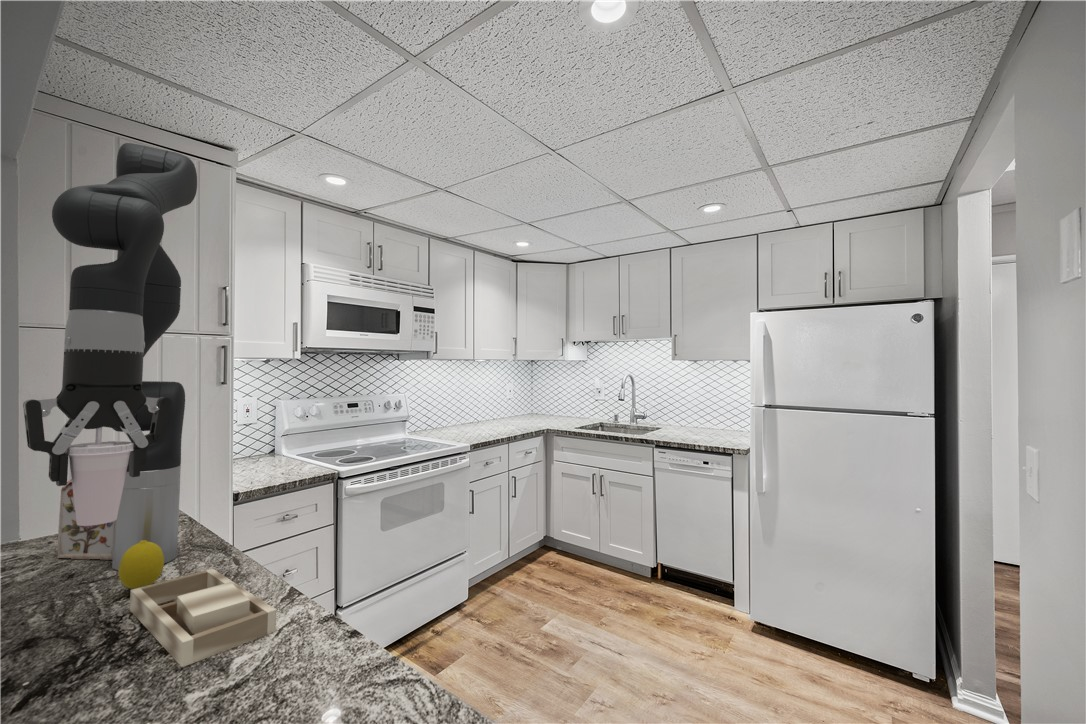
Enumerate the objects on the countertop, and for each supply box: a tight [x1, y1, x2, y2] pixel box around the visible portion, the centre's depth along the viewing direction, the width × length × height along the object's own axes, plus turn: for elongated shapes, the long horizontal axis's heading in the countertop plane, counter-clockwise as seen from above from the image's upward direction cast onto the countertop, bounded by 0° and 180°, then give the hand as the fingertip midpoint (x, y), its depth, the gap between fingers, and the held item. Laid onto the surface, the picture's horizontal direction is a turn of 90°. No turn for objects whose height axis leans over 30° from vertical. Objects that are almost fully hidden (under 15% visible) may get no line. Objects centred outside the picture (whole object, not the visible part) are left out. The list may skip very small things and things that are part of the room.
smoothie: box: [66, 427, 134, 526], centre depth 61 cm, size 6×6×14 cm
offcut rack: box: [129, 568, 277, 668], centre depth 64 cm, size 22×10×4 cm, turn 53°
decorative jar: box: [57, 478, 114, 561], centre depth 95 cm, size 12×12×18 cm
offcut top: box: [176, 582, 250, 634], centre depth 62 cm, size 8×6×2 cm
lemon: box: [118, 540, 165, 590], centre depth 76 cm, size 6×6×8 cm
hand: (99, 480), depth 61 cm, fingers closed on smoothie, 6 cm apart
